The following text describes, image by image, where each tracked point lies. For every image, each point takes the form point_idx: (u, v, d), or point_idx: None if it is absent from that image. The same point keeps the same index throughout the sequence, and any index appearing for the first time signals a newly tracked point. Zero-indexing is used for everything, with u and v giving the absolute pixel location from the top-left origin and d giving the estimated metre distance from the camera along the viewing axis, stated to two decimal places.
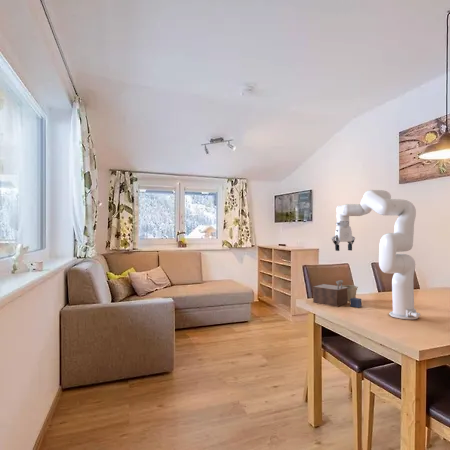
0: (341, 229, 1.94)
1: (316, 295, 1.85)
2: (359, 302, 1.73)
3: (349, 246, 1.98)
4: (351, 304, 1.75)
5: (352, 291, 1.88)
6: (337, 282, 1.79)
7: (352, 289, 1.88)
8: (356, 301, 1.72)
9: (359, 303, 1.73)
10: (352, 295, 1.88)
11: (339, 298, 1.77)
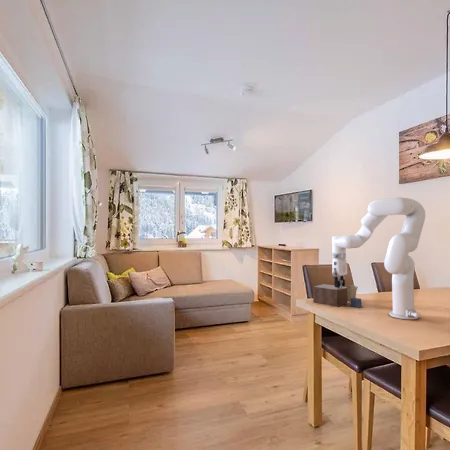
0: (340, 262, 1.77)
1: (316, 295, 1.85)
2: (359, 302, 1.73)
3: None
4: (351, 304, 1.75)
5: (352, 291, 1.88)
6: None
7: (352, 289, 1.88)
8: (356, 301, 1.72)
9: (359, 303, 1.73)
10: (352, 295, 1.88)
11: (339, 298, 1.77)
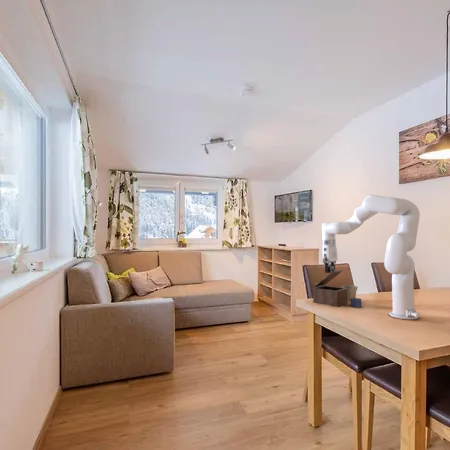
0: (330, 248, 1.82)
1: (316, 295, 1.85)
2: (359, 302, 1.73)
3: None
4: (351, 304, 1.75)
5: (352, 291, 1.88)
6: None
7: (352, 289, 1.88)
8: (356, 301, 1.72)
9: (359, 303, 1.73)
10: (352, 295, 1.88)
11: (339, 298, 1.77)
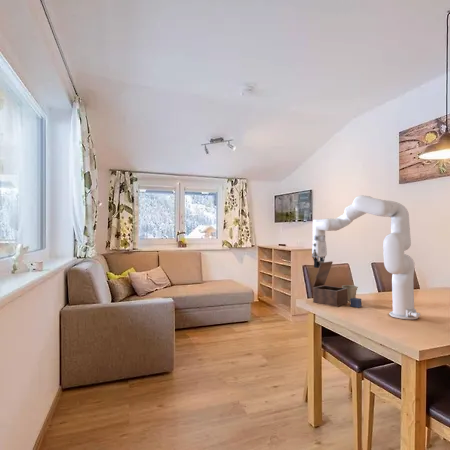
0: (319, 244, 1.87)
1: (316, 295, 1.85)
2: (359, 302, 1.73)
3: None
4: (351, 304, 1.75)
5: (352, 291, 1.88)
6: None
7: (352, 289, 1.88)
8: (356, 301, 1.72)
9: (359, 303, 1.73)
10: (352, 295, 1.88)
11: (339, 298, 1.77)
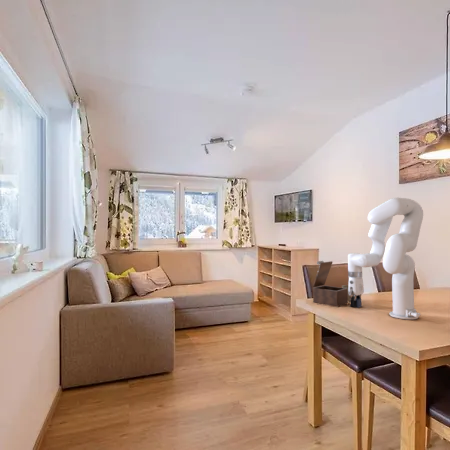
0: (357, 281, 1.71)
1: (316, 295, 1.85)
2: (359, 302, 1.73)
3: None
4: None
5: None
6: (318, 263, 1.89)
7: None
8: None
9: (358, 303, 1.73)
10: None
11: (339, 298, 1.77)
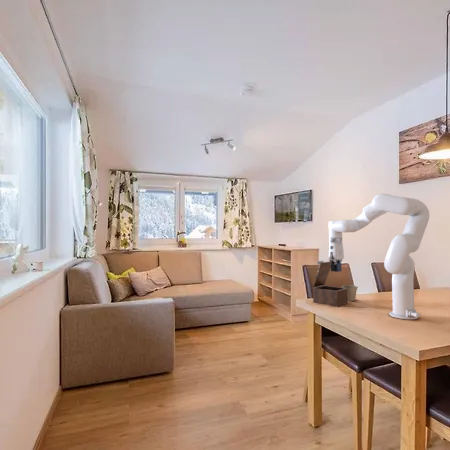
0: (336, 246, 1.79)
1: (316, 295, 1.85)
2: (339, 266, 1.81)
3: None
4: None
5: (352, 291, 1.88)
6: (318, 263, 1.89)
7: (352, 289, 1.88)
8: None
9: (338, 267, 1.80)
10: (352, 295, 1.88)
11: (339, 298, 1.77)
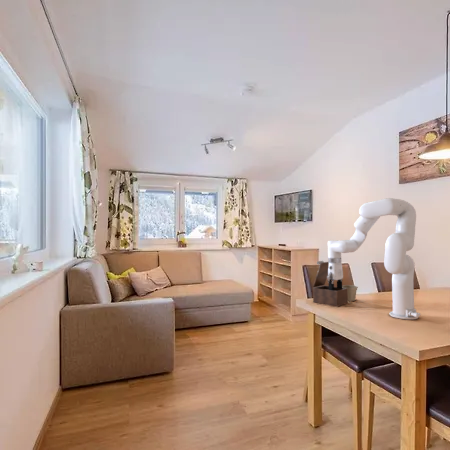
0: (336, 266, 1.79)
1: (316, 295, 1.85)
2: None
3: (339, 284, 1.86)
4: None
5: (352, 291, 1.88)
6: (318, 263, 1.89)
7: (352, 289, 1.88)
8: None
9: None
10: (352, 295, 1.88)
11: (339, 298, 1.77)
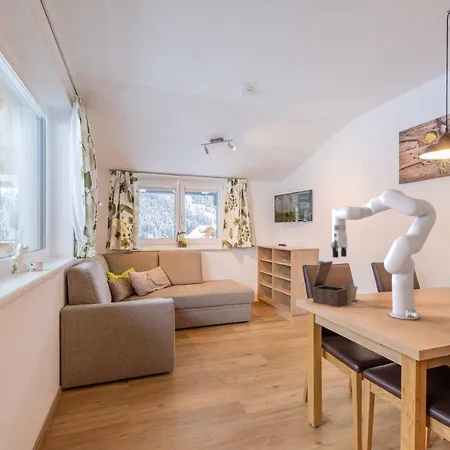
0: (340, 234, 1.77)
1: (316, 295, 1.85)
2: None
3: (343, 252, 1.84)
4: None
5: (352, 291, 1.88)
6: (318, 263, 1.89)
7: (352, 289, 1.88)
8: None
9: None
10: (352, 295, 1.88)
11: (339, 298, 1.77)
